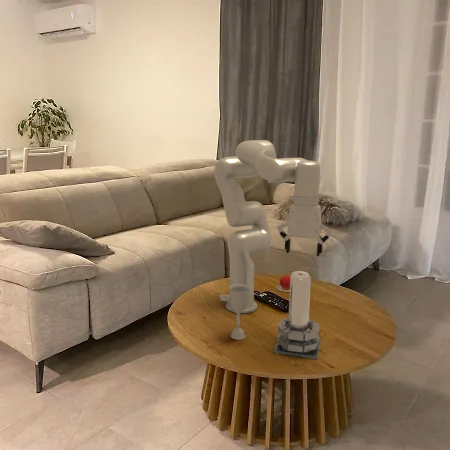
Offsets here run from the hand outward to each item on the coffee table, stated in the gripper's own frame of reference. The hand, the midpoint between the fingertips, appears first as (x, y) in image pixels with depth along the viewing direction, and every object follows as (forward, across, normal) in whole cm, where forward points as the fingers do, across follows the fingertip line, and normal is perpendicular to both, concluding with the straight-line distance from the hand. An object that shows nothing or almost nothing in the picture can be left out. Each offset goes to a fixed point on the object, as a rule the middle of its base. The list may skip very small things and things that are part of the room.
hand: (303, 253), depth 150 cm
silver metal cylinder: (+31, 0, -2) cm, 31 cm away
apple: (+33, -13, +49) cm, 60 cm away
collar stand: (+32, 0, -2) cm, 32 cm away
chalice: (+33, -21, 0) cm, 39 cm away
